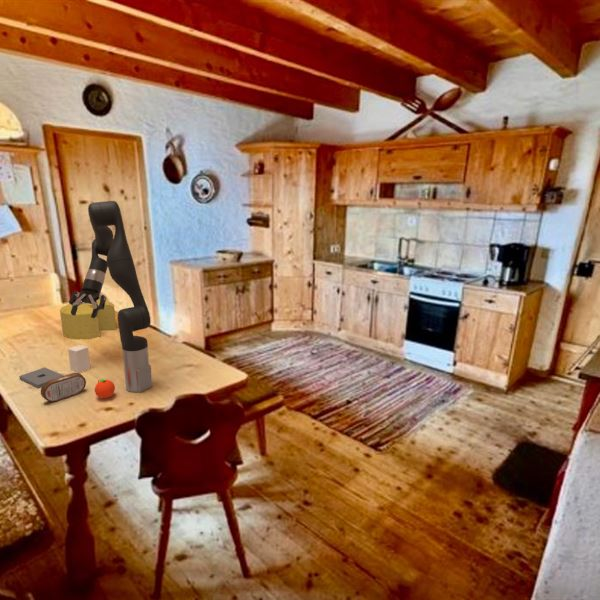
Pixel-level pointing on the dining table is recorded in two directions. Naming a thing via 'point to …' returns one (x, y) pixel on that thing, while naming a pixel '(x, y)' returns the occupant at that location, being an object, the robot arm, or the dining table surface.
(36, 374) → the slate board
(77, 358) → the block
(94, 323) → the cheese
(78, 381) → the tin
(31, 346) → the dining table surface
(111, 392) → the clementine
